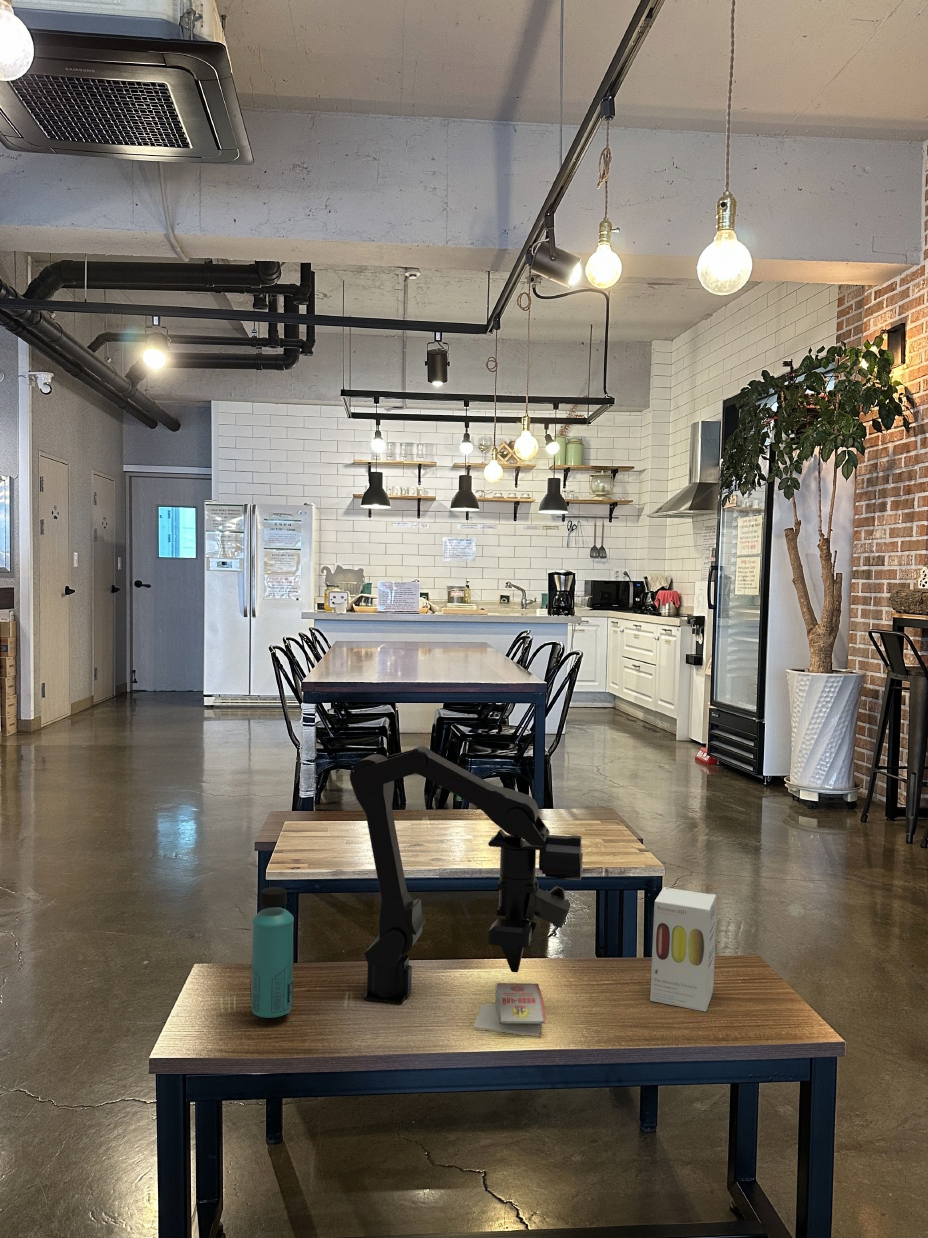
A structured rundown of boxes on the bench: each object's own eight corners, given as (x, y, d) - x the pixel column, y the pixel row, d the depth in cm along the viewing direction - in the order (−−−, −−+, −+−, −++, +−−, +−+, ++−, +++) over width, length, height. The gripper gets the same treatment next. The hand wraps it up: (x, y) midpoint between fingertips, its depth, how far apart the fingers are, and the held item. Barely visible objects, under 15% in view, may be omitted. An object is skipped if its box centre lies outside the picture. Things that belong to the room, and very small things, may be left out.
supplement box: (648, 1002, 151) (651, 900, 151) (658, 981, 160) (661, 885, 160) (708, 1013, 147) (711, 909, 147) (714, 991, 156) (717, 893, 156)
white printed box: (537, 1006, 147) (545, 1035, 137) (495, 1006, 147) (501, 1035, 137) (538, 983, 147) (546, 1010, 137) (496, 983, 147) (501, 1010, 137)
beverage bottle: (292, 1027, 138) (295, 895, 138) (247, 1029, 137) (251, 896, 137) (293, 1008, 145) (296, 882, 144) (250, 1010, 143) (253, 883, 143)
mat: (473, 1029, 139) (473, 1026, 139) (482, 1006, 148) (482, 1003, 148) (538, 1037, 137) (538, 1034, 137) (544, 1013, 146) (544, 1010, 146)
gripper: (563, 896, 136) (560, 1000, 136) (572, 863, 154) (569, 955, 154) (489, 890, 138) (486, 993, 138) (506, 858, 156) (504, 949, 157)
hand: (514, 971), depth 147 cm, fingers closed
